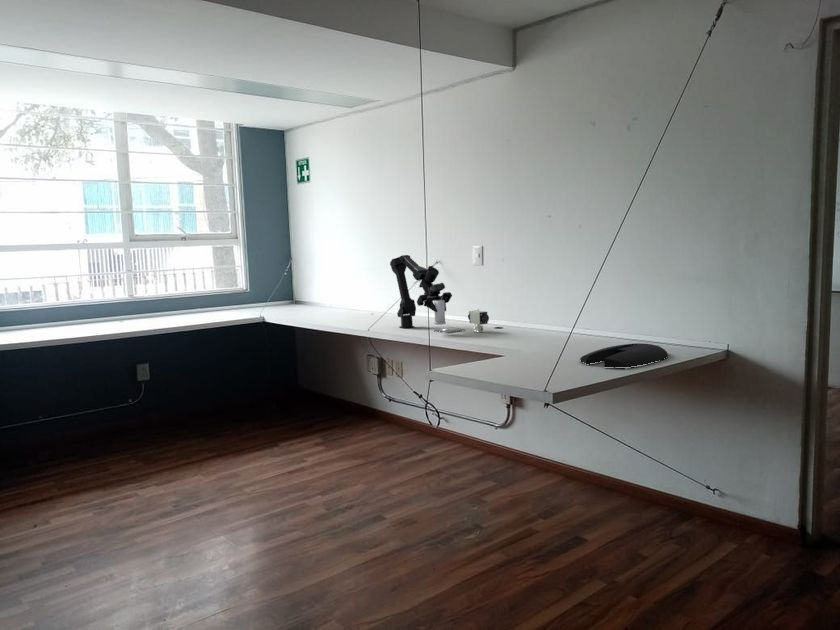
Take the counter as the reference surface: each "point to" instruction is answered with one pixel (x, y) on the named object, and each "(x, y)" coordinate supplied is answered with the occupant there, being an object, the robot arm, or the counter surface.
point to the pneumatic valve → (478, 319)
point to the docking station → (626, 355)
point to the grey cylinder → (439, 312)
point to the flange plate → (449, 329)
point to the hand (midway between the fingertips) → (441, 311)
